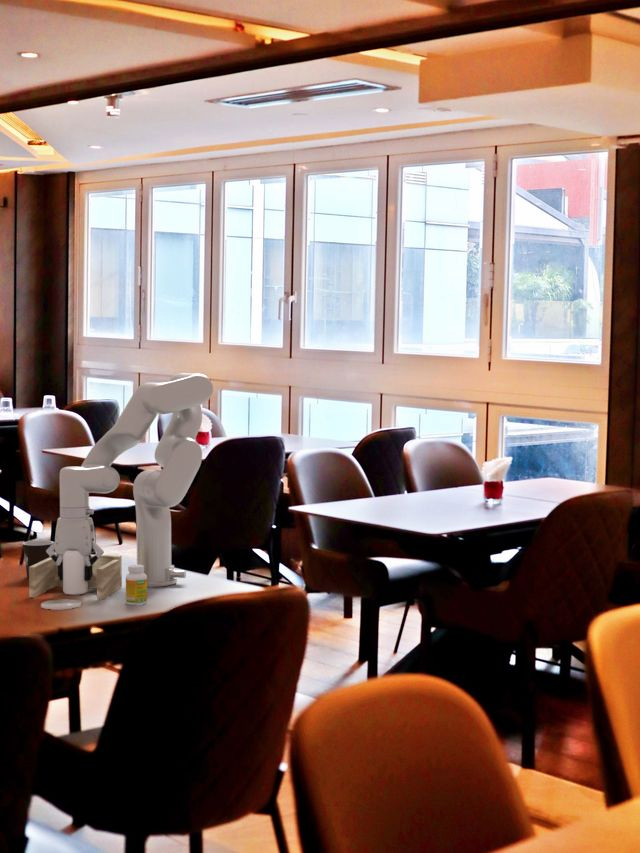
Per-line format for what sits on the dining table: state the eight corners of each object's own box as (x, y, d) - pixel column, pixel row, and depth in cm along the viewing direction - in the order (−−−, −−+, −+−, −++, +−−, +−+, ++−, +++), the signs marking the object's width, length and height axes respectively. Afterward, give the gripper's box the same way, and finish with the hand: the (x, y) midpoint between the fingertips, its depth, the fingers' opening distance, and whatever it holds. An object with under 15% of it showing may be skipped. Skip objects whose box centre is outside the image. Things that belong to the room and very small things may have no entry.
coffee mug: (51, 580, 341) (51, 545, 340) (20, 580, 340) (20, 545, 340) (57, 572, 353) (57, 538, 352) (27, 573, 352) (27, 538, 351)
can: (85, 595, 321) (84, 550, 320) (60, 595, 321) (60, 550, 320) (90, 590, 327) (89, 546, 326) (66, 590, 327) (65, 546, 327)
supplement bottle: (137, 606, 307) (137, 568, 307) (121, 603, 310) (121, 566, 310) (151, 602, 312) (151, 565, 311) (135, 600, 315) (135, 563, 314)
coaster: (86, 602, 312) (86, 599, 312) (73, 610, 302) (72, 608, 302) (49, 600, 314) (49, 598, 314) (34, 609, 304) (34, 606, 304)
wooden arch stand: (121, 587, 331) (121, 555, 331) (102, 599, 315) (102, 566, 315) (51, 585, 334) (51, 553, 334) (29, 597, 318) (28, 563, 318)
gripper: (110, 511, 325) (110, 578, 326) (48, 510, 328) (49, 576, 329) (101, 515, 318) (101, 583, 319) (38, 514, 320) (39, 581, 321)
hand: (75, 579), depth 324 cm, fingers closed on can, 6 cm apart
